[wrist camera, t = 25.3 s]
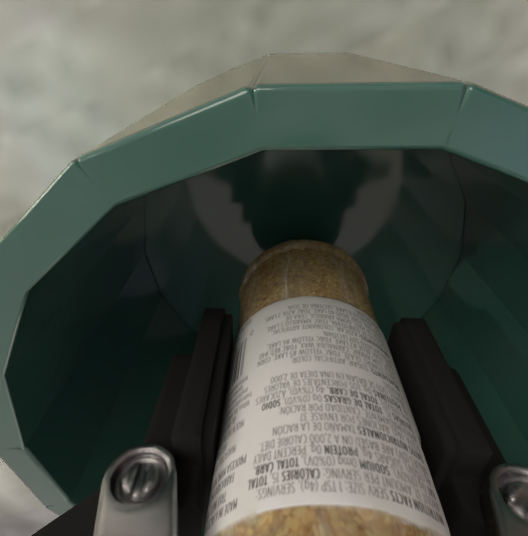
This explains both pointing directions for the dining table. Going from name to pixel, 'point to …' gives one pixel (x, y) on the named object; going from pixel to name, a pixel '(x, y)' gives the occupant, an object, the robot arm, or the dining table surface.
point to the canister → (261, 245)
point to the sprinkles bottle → (316, 411)
